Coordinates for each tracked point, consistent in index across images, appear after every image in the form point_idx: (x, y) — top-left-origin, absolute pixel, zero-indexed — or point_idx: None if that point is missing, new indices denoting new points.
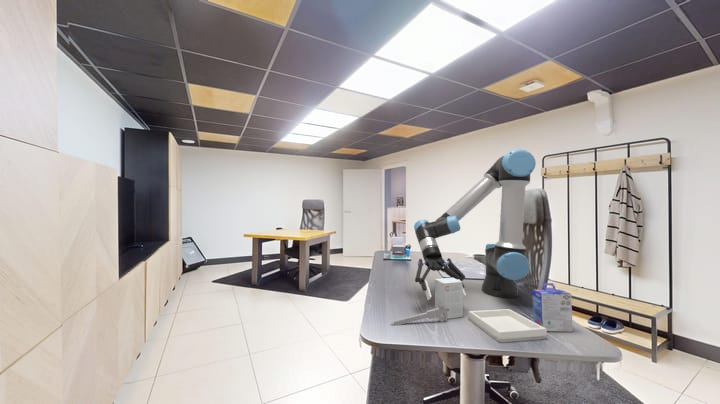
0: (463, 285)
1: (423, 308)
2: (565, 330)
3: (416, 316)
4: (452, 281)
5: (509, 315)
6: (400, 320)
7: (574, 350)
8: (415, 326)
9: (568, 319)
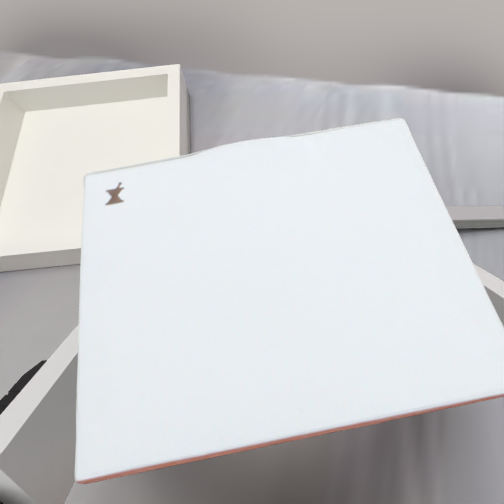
0: (21, 386)
1: (391, 429)
2: None
3: (477, 206)
4: (233, 182)
5: None
6: None
7: (20, 67)
8: (455, 199)
9: None
